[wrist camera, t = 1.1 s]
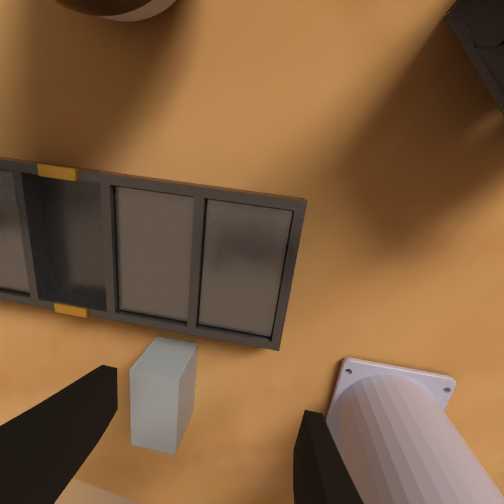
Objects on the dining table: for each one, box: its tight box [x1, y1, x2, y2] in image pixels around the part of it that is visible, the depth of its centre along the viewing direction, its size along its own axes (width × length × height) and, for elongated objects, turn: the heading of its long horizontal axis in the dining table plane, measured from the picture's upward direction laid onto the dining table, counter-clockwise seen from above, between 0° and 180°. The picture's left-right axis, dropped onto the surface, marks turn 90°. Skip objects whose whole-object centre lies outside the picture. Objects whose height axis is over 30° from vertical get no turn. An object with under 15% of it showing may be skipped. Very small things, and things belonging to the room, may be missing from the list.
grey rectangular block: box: [129, 336, 198, 455], centre depth 20 cm, size 7×4×4 cm, turn 172°
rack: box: [0, 157, 307, 351], centre depth 17 cm, size 10×24×2 cm, turn 82°
